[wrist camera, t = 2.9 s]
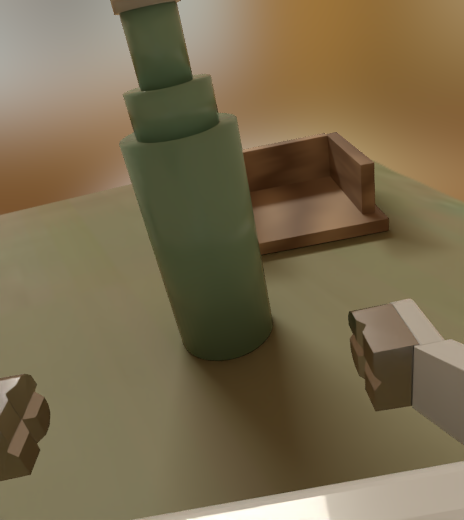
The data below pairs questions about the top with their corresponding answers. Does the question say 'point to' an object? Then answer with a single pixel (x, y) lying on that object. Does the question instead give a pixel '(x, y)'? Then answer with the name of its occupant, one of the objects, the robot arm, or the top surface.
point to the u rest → (311, 192)
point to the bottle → (192, 190)
